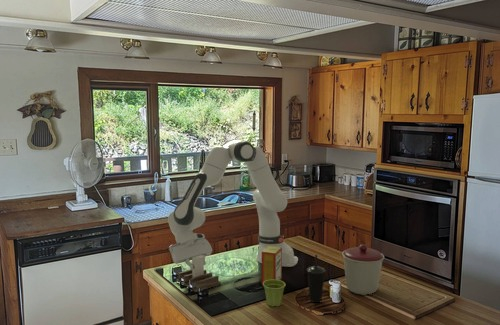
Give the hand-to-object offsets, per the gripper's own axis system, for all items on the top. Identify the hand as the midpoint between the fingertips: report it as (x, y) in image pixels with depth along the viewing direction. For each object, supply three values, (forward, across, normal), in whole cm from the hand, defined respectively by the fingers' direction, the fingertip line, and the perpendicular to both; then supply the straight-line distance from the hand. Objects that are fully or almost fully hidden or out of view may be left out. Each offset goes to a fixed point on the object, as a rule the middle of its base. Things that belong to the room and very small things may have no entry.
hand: (198, 266), depth 192 cm
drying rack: (+6, 0, +6) cm, 9 cm away
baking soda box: (+21, +27, -8) cm, 35 cm away
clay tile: (+4, 0, +4) cm, 6 cm away
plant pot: (+33, +12, -20) cm, 40 cm away
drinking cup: (+40, +27, -28) cm, 55 cm away
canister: (+45, +50, -32) cm, 75 cm away
